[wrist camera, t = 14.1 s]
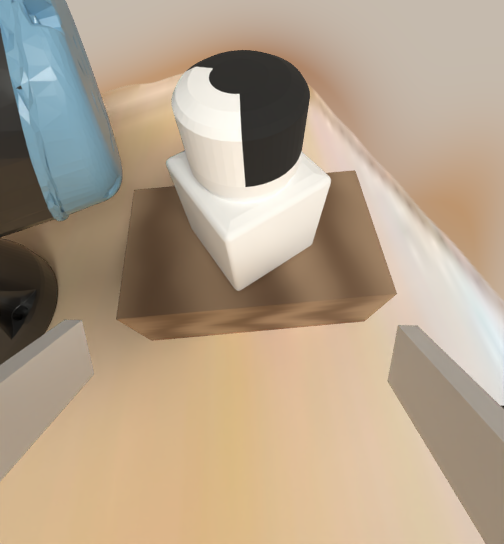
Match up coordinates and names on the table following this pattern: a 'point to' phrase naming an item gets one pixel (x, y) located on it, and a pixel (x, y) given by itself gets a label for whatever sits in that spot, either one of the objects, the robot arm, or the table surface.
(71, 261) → the table surface
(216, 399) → the table surface
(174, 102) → the medicine bottle
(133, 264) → the walnut box
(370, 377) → the table surface
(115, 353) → the table surface
